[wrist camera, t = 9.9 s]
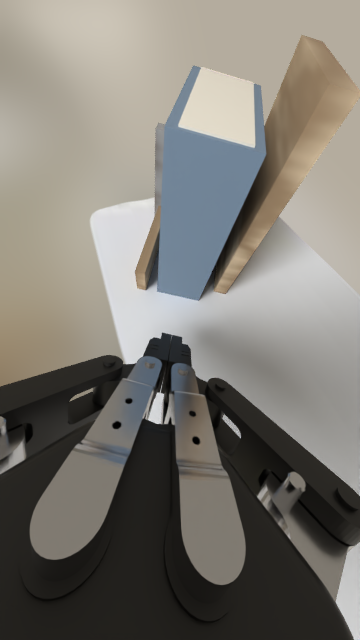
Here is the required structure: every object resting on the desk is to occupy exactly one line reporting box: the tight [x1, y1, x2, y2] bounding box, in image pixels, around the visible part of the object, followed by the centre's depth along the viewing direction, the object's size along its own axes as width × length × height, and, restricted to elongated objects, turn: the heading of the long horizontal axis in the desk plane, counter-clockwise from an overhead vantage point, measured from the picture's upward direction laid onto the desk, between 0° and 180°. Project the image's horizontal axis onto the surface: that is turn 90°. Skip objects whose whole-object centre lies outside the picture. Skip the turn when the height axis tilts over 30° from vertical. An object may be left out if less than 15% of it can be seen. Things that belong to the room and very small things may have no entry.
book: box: [157, 66, 266, 301], centre depth 17 cm, size 5×10×14 cm, turn 170°
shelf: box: [135, 35, 360, 294], centre depth 16 cm, size 11×12×16 cm
